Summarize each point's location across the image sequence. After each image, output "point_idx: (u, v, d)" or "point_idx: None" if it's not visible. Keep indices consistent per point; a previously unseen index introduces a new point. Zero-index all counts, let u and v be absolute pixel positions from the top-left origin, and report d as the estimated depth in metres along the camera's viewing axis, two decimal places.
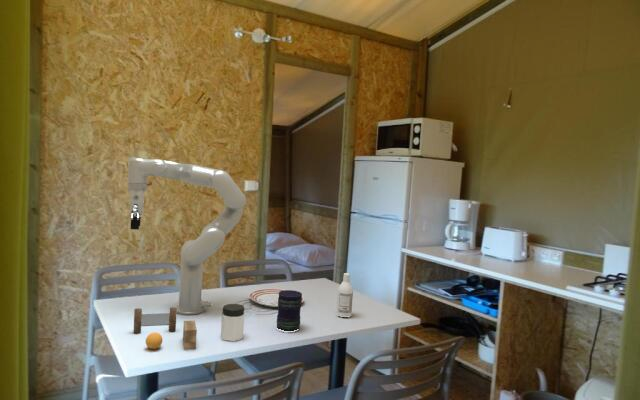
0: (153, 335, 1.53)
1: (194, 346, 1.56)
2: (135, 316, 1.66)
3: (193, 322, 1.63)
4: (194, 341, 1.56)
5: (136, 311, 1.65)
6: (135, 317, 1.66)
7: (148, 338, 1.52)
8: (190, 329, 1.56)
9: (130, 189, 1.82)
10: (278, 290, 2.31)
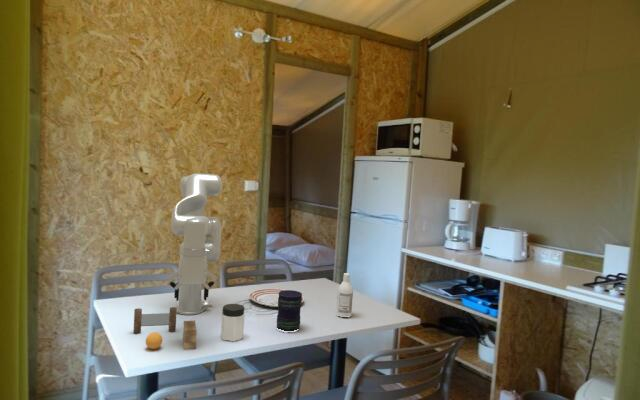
0: (153, 335, 1.53)
1: (194, 346, 1.56)
2: (135, 316, 1.66)
3: (193, 322, 1.63)
4: (194, 341, 1.56)
5: (136, 311, 1.65)
6: (135, 317, 1.66)
7: (148, 338, 1.52)
8: (190, 329, 1.56)
9: (202, 256, 1.57)
10: (278, 290, 2.31)
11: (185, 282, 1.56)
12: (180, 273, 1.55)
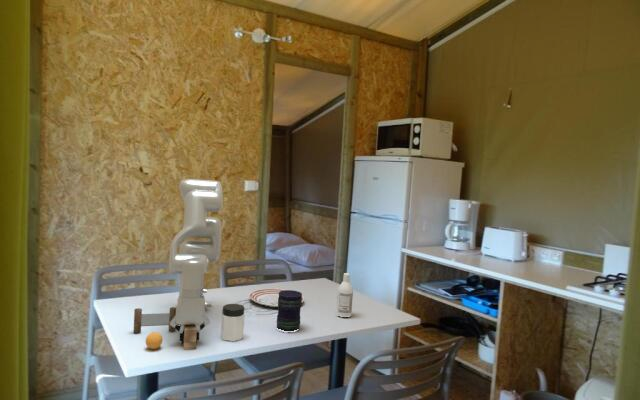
0: (153, 335, 1.53)
1: (194, 346, 1.56)
2: (135, 316, 1.66)
3: None
4: (194, 341, 1.56)
5: (136, 311, 1.65)
6: (135, 317, 1.66)
7: (148, 338, 1.52)
8: (190, 329, 1.56)
9: (200, 296, 1.58)
10: (278, 290, 2.31)
11: (183, 322, 1.57)
12: (178, 314, 1.56)
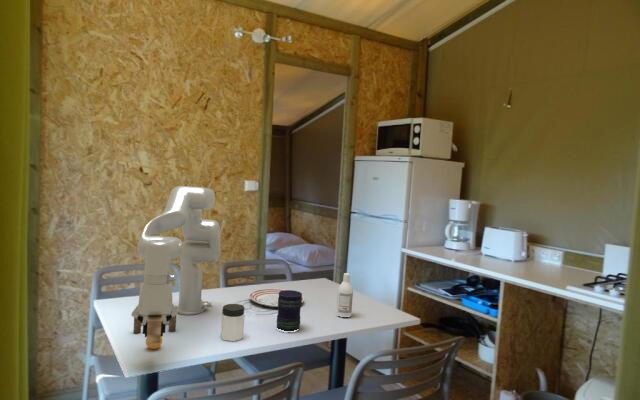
0: None
1: (158, 339, 1.37)
2: None
3: None
4: (158, 333, 1.37)
5: None
6: None
7: None
8: (154, 320, 1.37)
9: (166, 283, 1.39)
10: (278, 290, 2.31)
11: (146, 313, 1.38)
12: (140, 303, 1.37)
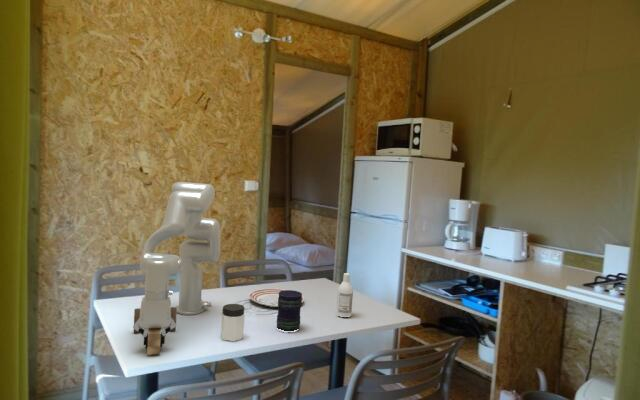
0: None
1: (158, 350, 1.48)
2: (135, 316, 1.66)
3: None
4: (158, 345, 1.48)
5: (136, 311, 1.65)
6: (135, 317, 1.66)
7: None
8: (154, 333, 1.48)
9: (165, 298, 1.50)
10: (278, 290, 2.31)
11: (147, 326, 1.49)
12: (141, 317, 1.48)
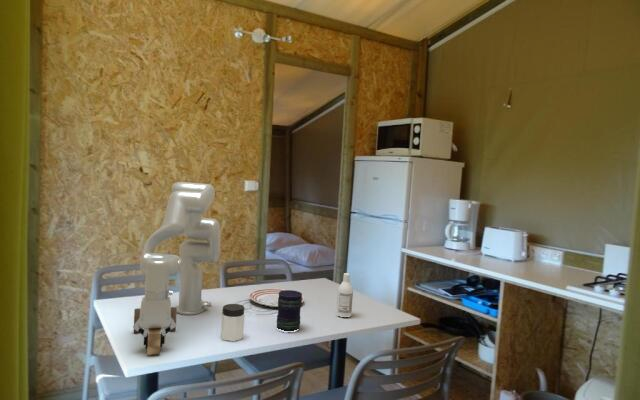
0: None
1: (158, 350, 1.48)
2: (135, 316, 1.66)
3: None
4: (158, 345, 1.48)
5: (136, 311, 1.65)
6: (135, 317, 1.66)
7: None
8: (154, 333, 1.48)
9: (165, 298, 1.50)
10: (278, 290, 2.31)
11: (147, 326, 1.49)
12: (141, 317, 1.48)
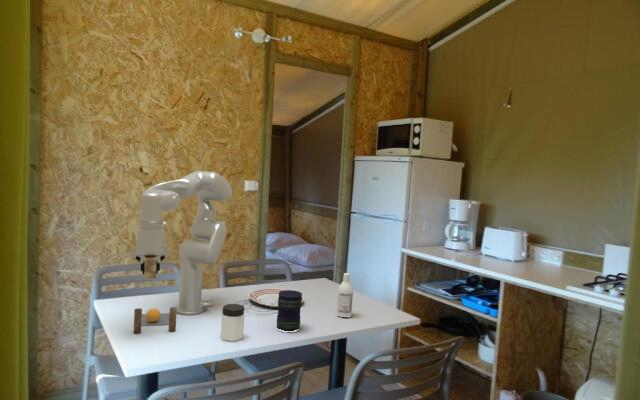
0: None
1: (154, 275, 1.62)
2: (135, 316, 1.66)
3: None
4: (154, 270, 1.62)
5: (136, 311, 1.65)
6: (135, 317, 1.66)
7: None
8: (150, 259, 1.62)
9: (159, 228, 1.63)
10: (278, 290, 2.31)
11: (143, 253, 1.63)
12: (138, 245, 1.62)
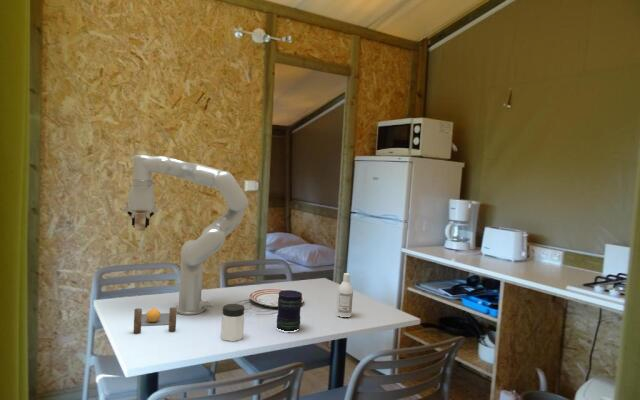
0: None
1: (143, 228, 1.82)
2: (135, 316, 1.66)
3: (144, 211, 1.89)
4: (143, 223, 1.82)
5: (136, 311, 1.65)
6: (135, 317, 1.66)
7: None
8: (140, 213, 1.82)
9: (149, 186, 1.84)
10: (278, 290, 2.31)
11: (134, 208, 1.84)
12: (130, 200, 1.83)
